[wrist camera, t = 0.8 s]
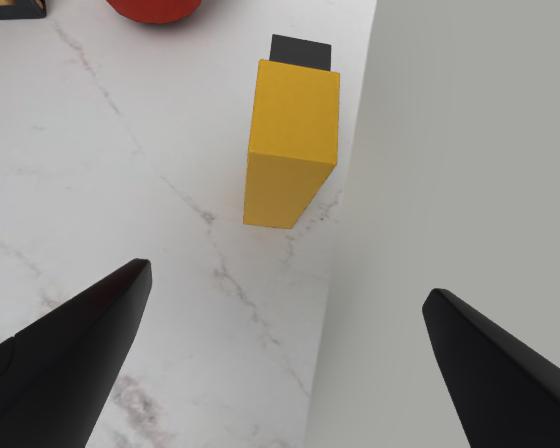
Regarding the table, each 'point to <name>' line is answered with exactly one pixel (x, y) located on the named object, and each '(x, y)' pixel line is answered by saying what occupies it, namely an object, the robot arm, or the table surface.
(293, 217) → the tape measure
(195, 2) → the apple
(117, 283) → the robot arm
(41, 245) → the table surface
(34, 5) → the ammunition clip
